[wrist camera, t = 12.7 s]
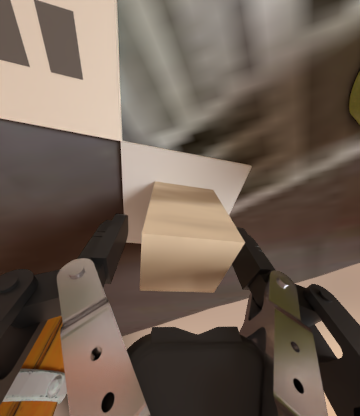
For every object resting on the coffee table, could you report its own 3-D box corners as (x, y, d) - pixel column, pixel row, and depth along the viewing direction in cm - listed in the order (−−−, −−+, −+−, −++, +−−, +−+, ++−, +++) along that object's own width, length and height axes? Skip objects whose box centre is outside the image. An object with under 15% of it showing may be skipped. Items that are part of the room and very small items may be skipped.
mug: (100, 285, 20) (-22, 572, 7) (103, 326, 28) (49, 490, 16) (11, 279, 18) (-372, 664, 5) (44, 324, 26) (-72, 512, 14)
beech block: (155, 181, 11) (141, 233, 6) (213, 189, 12) (245, 242, 7) (151, 227, 14) (139, 290, 9) (198, 232, 14) (213, 292, 9)
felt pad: (122, 140, 10) (120, 141, 9) (249, 164, 11) (252, 166, 11) (126, 239, 15) (125, 242, 15) (211, 246, 16) (212, 249, 16)
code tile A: (-162, -197, 4) (-185, -219, 4) (113, -81, 5) (111, -91, 5) (-13, 115, 8) (-19, 115, 8) (122, 140, 10) (120, 141, 9)
